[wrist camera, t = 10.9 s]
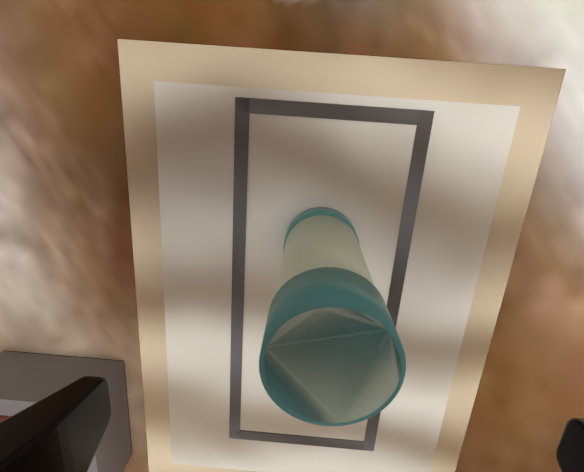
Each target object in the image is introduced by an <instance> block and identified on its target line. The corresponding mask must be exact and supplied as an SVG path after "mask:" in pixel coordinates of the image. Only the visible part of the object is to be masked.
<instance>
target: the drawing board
mask: <svg viewBox="0 0 584 472" xmlns="http://www.w3.org/2000/svg"><path fill="white" fill-rule="evenodd" d="M118 52H119V66H120V80H121V93H122V107H123V121H124V134H125V148H126V162H127V175H128V189H129V203H130V217H131V230H132V244H133V258H134V271H135V285H136V299H137V312H138V326H139V340H140V353H141V367H142V381H143V394H144V408H145V422H146V435H147V449H148V463H149V472H455V469H456V466H457V462H458V458H459V455H460V451H461V448H462V444H463V440H464V437H465V433H466V429H467V426H468V422H469V419H470V415H471V411H472V408H473V404H474V400H475V397H476V393H477V390H478V386H479V382H480V379H481V375H482V371H483V368H484V364H485V361H486V357H487V353H488V350H489V346H490V343H491V339H492V335H493V332H494V328H495V324H496V321H497V317H498V314H499V310H500V306H501V303H502V299H503V295H504V292H505V288H506V285H507V281H508V277H509V274H510V270H511V266H512V263H513V259H514V256H515V252H516V248H517V245H518V241H519V237H520V234H521V230H522V227H523V223H524V219H525V216H526V212H527V209H528V205H529V201H530V198H531V194H532V190H533V187H534V183H535V180H536V176H537V172H538V169H539V165H540V161H541V158H542V154H543V151H544V147H545V143H546V140H547V136H548V132H549V129H550V125H551V122H552V118H553V114H554V111H555V107H556V103H557V100H558V96H559V93H560V89H561V85H562V82H563V78H564V74H565V71H566V69H556V68H541V67H526V66H511V65H496V64H482V63H467V62H452V61H437V60H422V59H407V58H392V57H377V56H363V55H348V54H333V53H318V52H303V51H288V50H273V49H258V48H244V47H229V46H214V45H199V44H184V43H169V42H154V41H139V40H125V39H118ZM315 207H327V208H332V209H335V210H337V211H339V212H341V213H342V214H344V215H345V216H346V217H347V218H348V219H349V220H350V222H351V223H352V225H353V227H354V229H355V232H356V234H357V237H358V240H359V244H360V248H361V251H362V253H363V256H364V259H365V261H366V264H367V267H368V269H369V272H370V275H371V277H372V280H373V282H374V285H375V287H376V288H377V290H378V291H379V292H380V293H381V295H382V297H383V299H384V301H385V303H386V306H387V308H388V311H389V313H390V316H391V318H392V321H393V323H394V326H395V328H396V331H397V333H398V336H399V338H400V341H401V343H402V346H403V349H404V352H405V357H406V372H405V377H404V381H403V384H402V386H401V388H400V390H399V392H398V394H397V395H396V397H395V398H394V399H393V400H392V402H391V403H390V404H389V405H388V406H387V407H385V408H384V409H383V410H382V411H380V412H379V413H378V414H376V415H374V416H372V417H371V418H369V419H366V420H364V421H361V422H358V423H355V424H351V425H345V426H321V425H315V424H311V423H307V422H304V421H301V420H299V419H297V418H295V417H293V416H291V415H289V414H288V413H286V412H285V411H283V410H282V409H281V408H280V407H278V406H277V405H276V404H275V403H274V402H273V400H272V399H271V398H270V397H269V395H268V394H267V392H266V390H265V388H264V386H263V384H262V381H261V378H260V373H259V357H260V351H261V346H262V341H263V336H264V332H265V327H266V322H267V317H268V312H269V308H270V305H271V302H272V300H273V298H274V296H275V295H276V289H277V284H278V279H279V273H280V268H281V263H282V258H283V247H284V241H285V236H286V232H287V229H288V227H289V225H290V223H291V222H292V220H293V219H294V218H295V217H296V216H297V215H299V214H300V213H301V212H303V211H305V210H308V209H310V208H315Z"/></svg>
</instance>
